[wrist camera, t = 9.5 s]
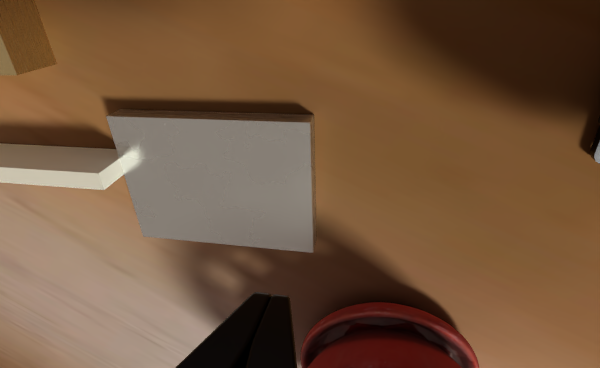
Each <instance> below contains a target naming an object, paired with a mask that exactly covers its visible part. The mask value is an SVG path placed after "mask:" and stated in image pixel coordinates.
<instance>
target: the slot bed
mask: <svg viewBox="0 0 600 368" xmlns="http://www.w3.org/2000/svg"><path fill="white" fill-rule="evenodd" d="M106 117H107V120H108V124H109V127H110V130H111V133H112V137H113V140H114V143H115V146H116V150H117V153H118V156H119V159H120V163H121V166H122V169H123V172H124V176H125V179H126V182H127V185H128V189H129V192H130V195H131V198H132V202H133V205H134V208H135V211H136V215H137V218H138V221H139V224H140V228H141V231H142V234H143V236H144V237H155V238H165V239H175V240H186V241H196V242H206V243H217V244H227V245H237V246H248V247H258V248H268V249H279V250H289V251H299V252H310V253H313V252H314V247H315V243H316V199H315V146H314V114H278V113H242V112H206V111H170V110H134V109H119V110H117V111H115V112H113V113H112V114H110V115H108V116H106Z"/></svg>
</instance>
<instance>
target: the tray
mask: <svg viewBox="0 0 600 368" xmlns="http://www.w3.org/2000/svg"><path fill="white" fill-rule="evenodd" d="M123 175H124V172H123V169H122V166H121V163H120V159H119V156H118V153H117V150H116V149H103V148H83V147H63V146H42V145H22V144H2V143H0V182H2V183H16V184H30V185H44V186H57V187H71V188H85V189H98V190H105V189H106V188H107V187H109V186H110V185H111V184H112V183H114V182H115V181H116V180H117V179H119V178H120V177H121V176H123Z"/></svg>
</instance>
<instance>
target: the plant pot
mask: <svg viewBox="0 0 600 368" xmlns="http://www.w3.org/2000/svg"><path fill="white" fill-rule="evenodd" d="M301 365H302V368H479V364H478V360H477V358H476V355H475V353H474V351H473V349H472V348H471V346H470V344H469V343H468V342H467V341H466V339H465V338H464V337H463V336H462V335H461V334H460V333H459V332H458V331H456V330H455V329H454V328H453V327H452V326H451V325H449V324H448V323H446V322H445V321H443V320H441V319H440V318H438V317H436V316H434V315H432V314H429V313H427V312H425V311H422V310H420V309H416V308H413V307H410V306H406V305H401V304H396V303H386V302H371V303H362V304H357V305H352V306H349V307H345V308H342V309H340V310H338V311H335V312H333V313H331V314H329V315H328V316H326V317H324V318H323V319H322V320H320V321H319V322H318V323H317V324H316V325H315V326H313V328H312V329H311V330H310V331H309V333H308V334H307V336H306V337H305V339H304V342H303V345H302V349H301Z"/></svg>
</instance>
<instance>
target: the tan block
mask: <svg viewBox="0 0 600 368" xmlns="http://www.w3.org/2000/svg"><path fill="white" fill-rule="evenodd" d="M55 64H57V62H56V59H55V57H54V54H53V51H52V48H51V46H50V43H49V40H48V37H47V34H46V32H45V29H44V26H43V23H42V21H41V18H40V15H39V12H38V9H37V7H36V4H35V1H34V0H0V75H19V74H23V73H27V72H30V71H34V70H37V69H41V68H44V67H48V66H52V65H55Z"/></svg>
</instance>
